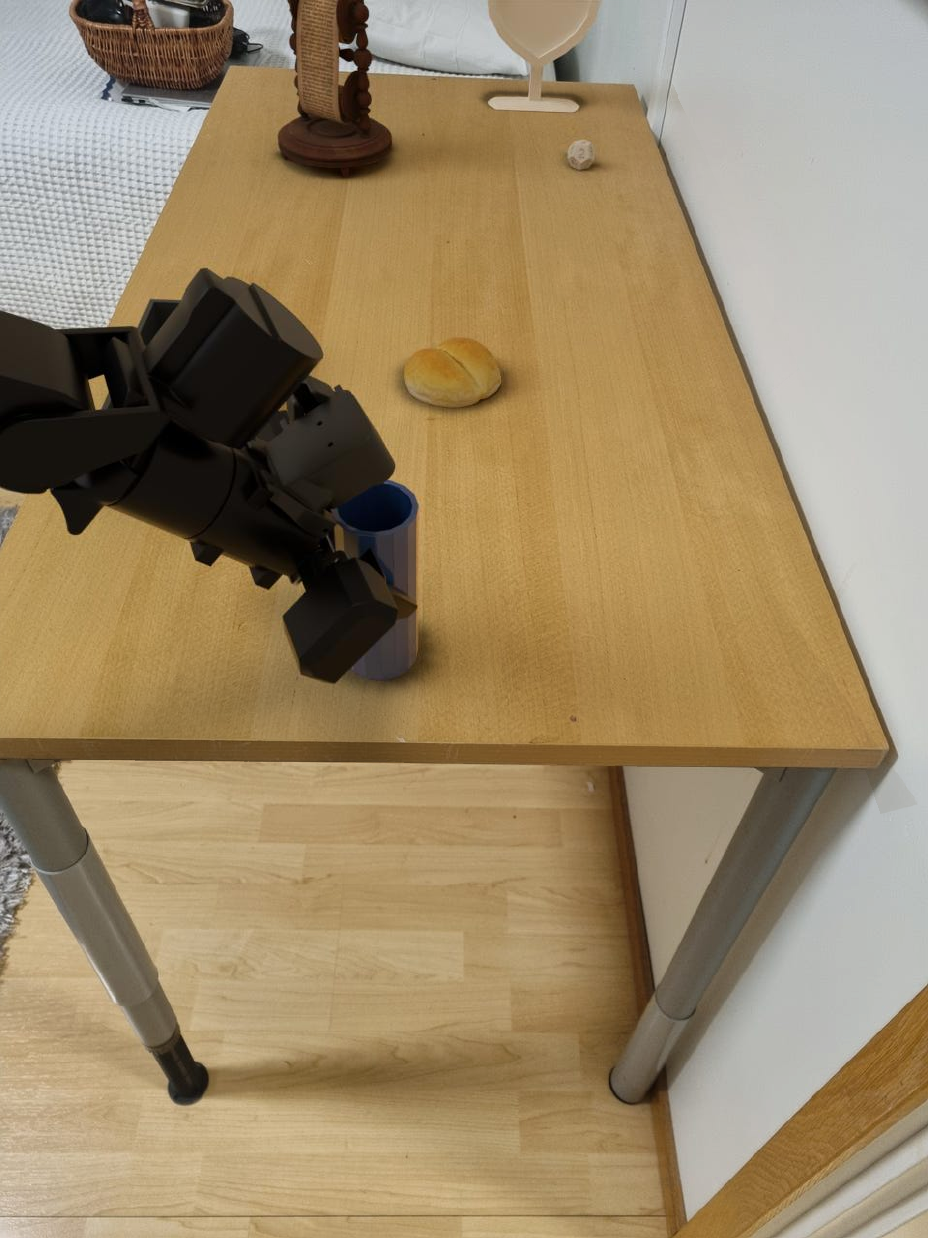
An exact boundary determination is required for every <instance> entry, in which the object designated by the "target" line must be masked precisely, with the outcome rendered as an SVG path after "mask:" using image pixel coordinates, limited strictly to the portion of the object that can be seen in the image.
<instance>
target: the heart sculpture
mask: <svg viewBox="0 0 928 1238" xmlns="http://www.w3.org/2000/svg"><path fill="white" fill-rule="evenodd" d="M601 2H602V0H487V7H488V16H489V19H490V21H491V24H492V25H493V27H494V29H495V31H496V33H497V35H498V37H499V38H500V39H501V40H502V41H503V42H504V44H506V45H507V46H508V47H509V48H510V50H511V51H512V52H513V53H515V54H516V55H518V56H519V57H520V58H522V59H523V60H524V61H525V62H527V63H528V64H530V68H529V84H528V94H527V96H494V97H492V98H490V99H489V100H488V101H487V104H488V105H489V107H491V108H492V109H494V110H496V111H521V112H522V111H524V112H546V113H548V112H551V113H575V112H577V111H578V110H579V109H580V105H579V104H578V103H576V102H575V101H574V100H572V99H568V98H567V99H566V98H553V97H542V87H543V85H542V84H543V76H544V67H545V66H547V65H548V64H550V63H552V62H553V61H555V60H556V59H558V58H560V57H562V56H564V55H566V54H567V53H569V51H570V50H572V49H573V48H574V47H576V45H578V44H579V43H580V42H581V41H583V40H584V38H585V37H586V35H587V34H588V32H589V31H590V29H591V28H592V26H593V25H594V24H595V22H596V20H597V17H598V13H599V9H600V6H601Z"/></svg>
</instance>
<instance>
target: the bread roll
mask: <svg viewBox="0 0 928 1238" xmlns="http://www.w3.org/2000/svg"><path fill="white" fill-rule="evenodd" d="M403 379H404V384H405V386H406V389H407V391H408V392H409V394H410V395H411V396H413V397H414V399H416V400H419V401H421V402H422V403H425V404H429V405H432V406H436V407H441V408H449V409H452V408H453V409H455V408H456V409H457V408H463V407H469V406H472V405H474V404H477V403H478V402H479V401H480V400H485V399H488V398H489V397H491V396H492V395H493V394H494V393H496V392H497V391H498V389H499V388H500V386H501V384H502V376H501V370H500V366H499V364H498V362H497V359H496V358H495V356H494V355H493V353H492V352H491V351H490V350H489V349H488V347H487V346H485V345H484V343H481V342H480V341H478V340H476V339H473V338H470V337H460V336H457V337H456V336H455V337H450V338H448V339H447V340H445V341H443V342H441V343H440V344H438V346H436V348H432V347H431V348H422V349H419V350H416V351H415V352H414V353H413V354H411V356H409V358H408V359H407V361H406V363H405V365H404V369H403Z"/></svg>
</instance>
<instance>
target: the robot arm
mask: <svg viewBox="0 0 928 1238" xmlns="http://www.w3.org/2000/svg"><path fill="white" fill-rule="evenodd" d="M180 300H181V301H180V303H179V304H178V306H177V307H176V309H175V310H174V311H173V313H172V314H171V315H170V317H169V318H168V319H167V320H166V322H165V323H164V324H163V326H162V327H161V328H160V330H159V331H158V332H157V334H156V335H155V336H154V338H153V339H152V340H151V342H150V343H149V344H148V345H147V346H146V345H144V343H143V340H142V337H141V334H140V331H139V329H138V328H137V327H138V326H134V325H123V326H122V325H121V326H99V327H98V326H97V327H95V326H94V327H72V328H54V327H52V326H50V325H48V324H45V323H43V322H40V321H37V320H34V319H30V318H27V317H24V316H20V315H17V314H14V313H11V312H8V311H4V310H2V309H1V310H0V489H2V490H4V491H7V492H11V493H16V494H22V495H43V494H45V493H47V491H48V490H49V492H50V494H51V496H52V497H53V498H54V500H56V502H57V504H58V505H59V507H60V509H61V512H62V514H63V517H64V520H65V525H66V531H67V532H68V533H69V534H70V535H72V536H80V535H82V534H83V533H84V532H85V530H86V529H87V528H88V526H89V525H90V524H91V523H92V522H93V520H94V519H95V518H96V516H98V514H99V513H100V512H101V510H103V508H104V507H107V508H109V509H111V510H113V511H116V512H118V513H120V514H123V515H126V516H128V517H130V518H133V519H135V520H137V521H139V522H141V523H145V524H147V525H149V526H151V527H153V528H157V529H159V530H161V531H164V532H166V533H169V534H171V535H173V536H176V537H178V538H180V539H183V540H185V541H187V542H189V545H190V548H191V551H192V554H193V559H194V561H195V562H198V563H200V564H203V565H206V566H208V567H212V566H213V565H214V564H215V562H216V561H217V560H218V559H219V558H220V557H221V556H223V557H225V558H228V559H230V560H232V561H235V562H238V563H240V564H243V565H245V566H247V567H248V569H249V571H250V575H251V577H252V579H253V583H254V585H255V586H258V587H260V588H263V589H265V590H268V591H270V590H271V588H272V587H274V585H275V584H276V583H277V582H278V581H279V580H280V579H281V578H282V577H283V576H285V577H287V578H288V581H289V582H290V585H292V586H294V587H295V586H296V587H298V586H299V585H300V584H301V583H302V585H303V588H304V592H303V593H302V595H300V597H299V598H298V599H297V600H296V601H295V602H294V603H292V604H291V606H290V607H289V609H287V611H285V613H283V614H282V616H281V617H282V625H283V631H284V633H285V636H286V640H287V642H288V645H289V648H290V650H291V653H292V656H293V658H294V660H295V664H296V666H297V669H298V671H299V674H300V675H301V676H303V677H306V678H309V679H312V680H316V681H319V682H321V683H325V684H330V685H332V684H333V685H335V684H337V683H338V682H339V681H340V680H341V679H342V678H343V677H344V676H345V675H346V674H347V673H348V672H349V671H350V670H351V668H352V667H353V666H354V665H355V664H356V663H357V662H358V661H359V660H360V659H361V658H362V657H363V656H364V655H365V654H366V653H367V652H368V651H369V650H370V649H371V648H372V647H373V646H374V645H375V644H376V643H377V642H378V641H379V640H380V639H381V638H382V637H383V636H384V635H385V634H386V633H387V632H388V631H389V630H390V629H391V628H392V627H393V626H394V625H395V623H396V620H398V619H403V618H408V617H409V616H410V615H411V614H412V613H414V612H415V611H416V610H417V608H418V609H419V605H418V606H417V604H416V602H415V601H413V600H412V599H411V598H410V597H408V596H407V595H406V594H404V593H403V592H402V591H400V590H399V589H397V588H396V587H394V586H393V585H391V584H390V583H388V582H387V581H386V578H385V575H384V573H383V571H382V569H381V567H380V565H379V562H378V560H377V558H376V556H375V554H374V552H373V550H372V548H371V547H370V548H369V549H368V550H367V551H366V552H365V553H364V554H363V555H362V556H361V557H360V558H359V559H358V558H356V557H354V558H351V557H350V555H349V554H348V553H347V552H345V551H343V550H339V551H336V550H335V548H334V545H333V533H332V529H333V528H334V527H335V526H336V525H337V522H336V520H335V518H334V516H333V514H332V513H331V511H330V509H335V508H338V507H340V506H341V505H343V504H345V503H346V502H348V501H350V500H351V499H353V498H354V497H356V496H358V495H359V494H361V493H362V492H364V491H366V490H367V489H369V488H371V487H372V486H374V485H380V484H382V483H384V482H385V481H387V480H390V478H391V477H392V476H393V475H394V473H395V470H396V462H395V460H394V458H393V456H392V455H391V453H390V451H389V449H388V447H387V446H386V444H385V442H384V441H383V439H382V437H381V434H380V433H379V432H378V430H377V428H376V427H375V425H374V424H373V422H372V421H371V419H370V417H369V416H368V415H367V413H366V412H365V410H364V409H363V407H362V406H361V404H360V402H359V401H358V399H357V398H356V395H354V394H353V393H352V391H350V390H349V389H343V387H342V386H341V384H340V383H339V384H337V385H335V386H334V387H332V386H331V385H330V384H329V383H326V382H324V381H322V380H320V379H318V378H317V377H314V376H312V375H310V374H311V373H312V372H313V371H314V370H315V368H316V367H317V366H318V365H319V363H320V362H321V361H322V360H323V359H324V351H323V349H322V347H321V345H320V343H319V342H318V340H317V339H316V337H315V336H314V334H313V333H312V332H311V331H310V330H309V329H308V328H307V326H306V325H305V324H304V323H303V322H302V321H301V320H300V319H299V318H298V317H297V316H296V315H295V314H294V313H293V312H292V311H291V310H290V309H289V308H287V307H286V306H285V305H284V304H283V303H282V302H280V301H279V300H278V298H276V297H274V296H273V295H272V294H271V293H270V292H268V291H267V290H266V289H264V288H263V287H261V286H260V285H259V284H257V283H255V282H253V281H252V282H251V283H250V284H249V283H247V282H245V281H244V280H242V279H239V278H237V277H234V276H226V277H224V278H223V277H221V276H220V275H218V274H217V273H215V272H214V271H212V270H211V269H209V268H208V267H202V268H201V267H200V268H199V270H198V271H197V272H196V274H195V275H194V276H193V277H192V279H191V280H190V282H189V283H188V285H186V288H185V289H184V292H183V294H182V297H181V299H180ZM101 376H103V377H104V380H105V384H106V388H107V390H108V393H109V395H110V399H111V403H112V406H113V409H102V408H100V409H96V406H95V402H94V398H93V393H92V390H91V386H90V382H89V381H90V380H93V379H96V378H99V377H101ZM285 404H286V409H283V410H282V409H281V408H283V406H284V405H285Z"/></svg>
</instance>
